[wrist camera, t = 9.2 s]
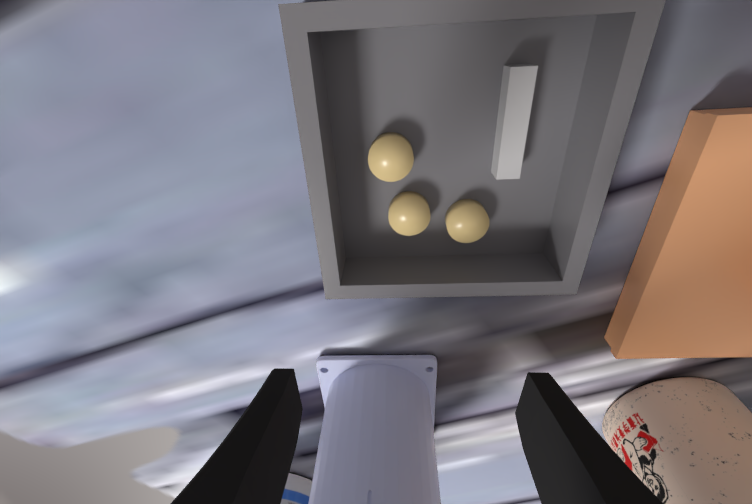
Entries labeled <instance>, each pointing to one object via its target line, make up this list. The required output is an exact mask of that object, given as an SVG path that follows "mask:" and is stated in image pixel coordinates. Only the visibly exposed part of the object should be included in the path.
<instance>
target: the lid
mask: <svg viewBox="0 0 752 504" xmlns="http://www.w3.org/2000/svg"><path fill="white" fill-rule="evenodd" d="M604 338H605V339H606V341H607V342H608V344H609V345H610V347H611V352H612V354H613V355H614V357H615V358H616V359H632V358H720V357H752V107H746V108H727V109H708V110H690V112H689V115H688V117H687V120H686V123H685V125H684V128H683V131H682V133H681V136H680V138H679V141H678V144H677V146H676V149H675V152H674V154H673V157H672V160H671V162H670V165H669V168H668V170H667V173H666V176H665V178H664V181H663V183H662V186H661V189H660V191H659V194H658V197H657V199H656V202H655V205H654V207H653V210H652V213H651V215H650V218H649V221H648V223H647V226H646V228H645V231H644V234H643V236H642V239H641V242H640V244H639V247H638V250H637V252H636V255H635V258H634V260H633V263H632V266H631V268H630V271H629V273H628V276H627V279H626V281H625V284H624V287H623V289H622V292H621V295H620V297H619V300H618V303H617V305H616V308H615V311H614V313H613V316H612V318H611V321H610V324H609V326H608V329H607V332H606V334H605V337H604Z"/></svg>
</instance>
